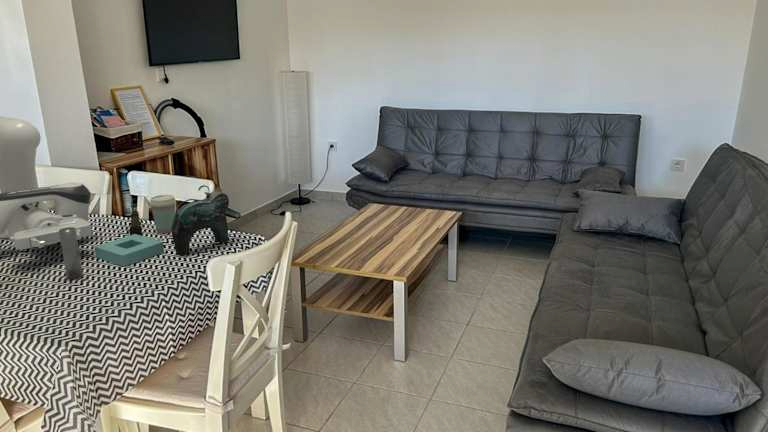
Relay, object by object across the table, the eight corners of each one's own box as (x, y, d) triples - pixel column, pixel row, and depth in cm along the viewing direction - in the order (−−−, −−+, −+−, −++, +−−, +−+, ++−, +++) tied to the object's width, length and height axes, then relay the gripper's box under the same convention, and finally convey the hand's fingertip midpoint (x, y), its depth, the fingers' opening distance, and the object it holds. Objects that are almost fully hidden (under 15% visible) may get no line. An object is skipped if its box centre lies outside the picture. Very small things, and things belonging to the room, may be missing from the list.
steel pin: (64, 277, 163) (55, 230, 159) (77, 273, 166) (70, 226, 162) (72, 280, 161) (64, 232, 157) (85, 276, 164) (78, 228, 160)
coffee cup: (175, 225, 208) (171, 193, 204) (182, 232, 201) (178, 198, 197) (150, 229, 203) (146, 196, 199) (156, 236, 196) (152, 202, 193)
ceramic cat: (224, 237, 196) (219, 179, 190) (236, 241, 192) (231, 182, 186) (171, 253, 181) (164, 191, 175) (182, 258, 177) (176, 195, 171)
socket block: (95, 257, 178) (94, 246, 177) (136, 244, 189) (134, 233, 188) (124, 266, 171) (122, 255, 170) (164, 252, 182) (163, 241, 181)
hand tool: (142, 236, 197) (141, 223, 196) (129, 237, 196) (128, 224, 195) (144, 220, 214) (142, 208, 213) (132, 221, 213) (131, 209, 212)
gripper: (5, 227, 169) (16, 238, 159) (81, 213, 182) (95, 223, 172) (10, 247, 171) (21, 260, 161) (84, 232, 184) (98, 243, 174)
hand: (60, 241), depth 167 cm, fingers open, 8 cm apart
